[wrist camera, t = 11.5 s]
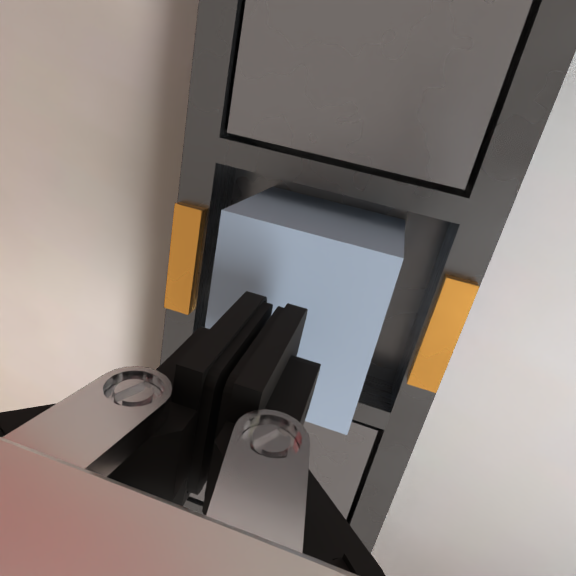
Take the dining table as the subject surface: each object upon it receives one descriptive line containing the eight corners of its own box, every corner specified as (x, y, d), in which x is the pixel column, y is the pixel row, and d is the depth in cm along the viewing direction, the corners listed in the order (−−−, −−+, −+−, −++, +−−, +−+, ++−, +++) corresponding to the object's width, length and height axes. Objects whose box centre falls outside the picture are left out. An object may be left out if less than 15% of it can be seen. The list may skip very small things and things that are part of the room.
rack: (611, -102, 12) (668, -165, 9) (363, 536, 22) (357, 592, 19) (252, -149, 14) (214, -215, 11) (171, 463, 23) (141, 507, 21)
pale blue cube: (405, 219, 16) (403, 258, 11) (362, 357, 18) (347, 435, 13) (273, 186, 17) (221, 209, 12) (247, 321, 19) (196, 384, 14)
